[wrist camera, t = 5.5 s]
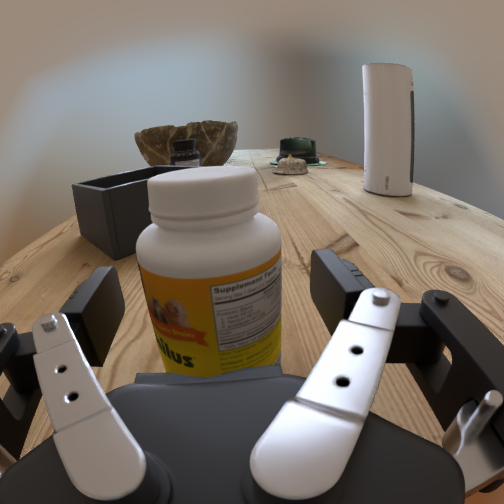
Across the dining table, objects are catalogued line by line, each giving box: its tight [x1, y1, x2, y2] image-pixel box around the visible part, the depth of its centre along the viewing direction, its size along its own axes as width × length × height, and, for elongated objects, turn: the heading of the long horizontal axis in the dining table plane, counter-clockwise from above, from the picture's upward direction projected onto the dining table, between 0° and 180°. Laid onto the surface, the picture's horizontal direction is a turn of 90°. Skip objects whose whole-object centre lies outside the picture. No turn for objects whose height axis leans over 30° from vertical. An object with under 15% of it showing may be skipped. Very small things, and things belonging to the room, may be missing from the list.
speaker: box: [362, 63, 414, 197], centre depth 51 cm, size 11×10×26 cm
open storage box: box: [72, 165, 204, 260], centre depth 38 cm, size 15×15×8 cm
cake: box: [272, 154, 308, 174], centre depth 81 cm, size 10×10×5 cm
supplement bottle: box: [136, 166, 282, 378], centre depth 12 cm, size 6×6×10 cm
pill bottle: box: [170, 139, 201, 166], centre depth 59 cm, size 6×6×11 cm
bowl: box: [135, 120, 238, 167], centre depth 77 cm, size 28×27×15 cm
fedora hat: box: [270, 137, 326, 166], centre depth 104 cm, size 15×19×20 cm
